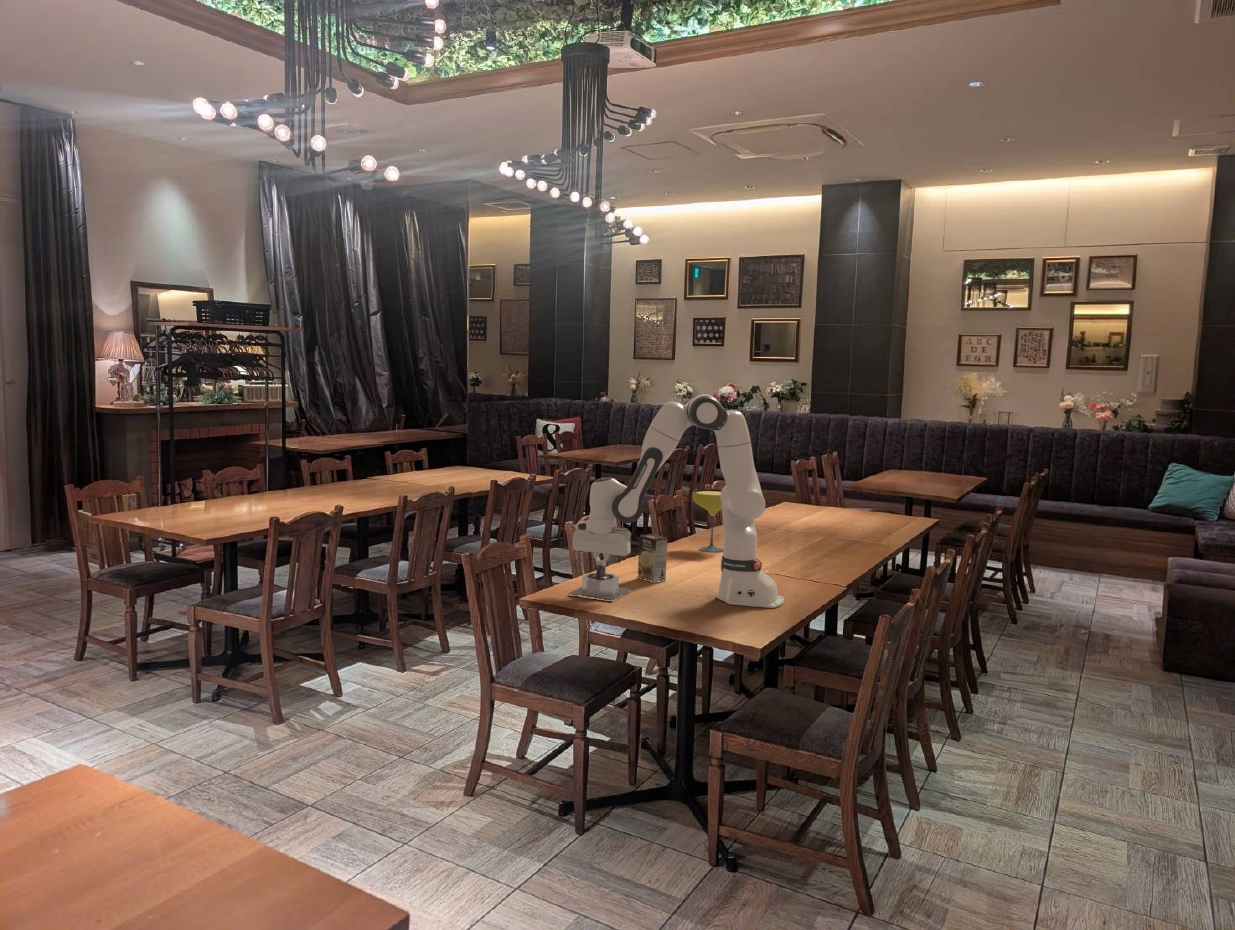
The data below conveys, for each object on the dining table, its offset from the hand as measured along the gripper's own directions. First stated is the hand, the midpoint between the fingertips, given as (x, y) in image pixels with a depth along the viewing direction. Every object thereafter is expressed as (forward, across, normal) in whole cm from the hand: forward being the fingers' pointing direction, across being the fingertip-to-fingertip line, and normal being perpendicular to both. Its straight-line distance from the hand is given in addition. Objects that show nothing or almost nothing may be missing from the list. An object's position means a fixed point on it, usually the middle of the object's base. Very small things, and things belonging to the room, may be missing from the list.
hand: (601, 565), depth 295 cm
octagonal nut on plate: (+10, 0, 0) cm, 10 cm away
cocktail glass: (+10, -11, -92) cm, 93 cm away
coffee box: (+10, -8, -28) cm, 31 cm away
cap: (+5, 0, 0) cm, 5 cm away
